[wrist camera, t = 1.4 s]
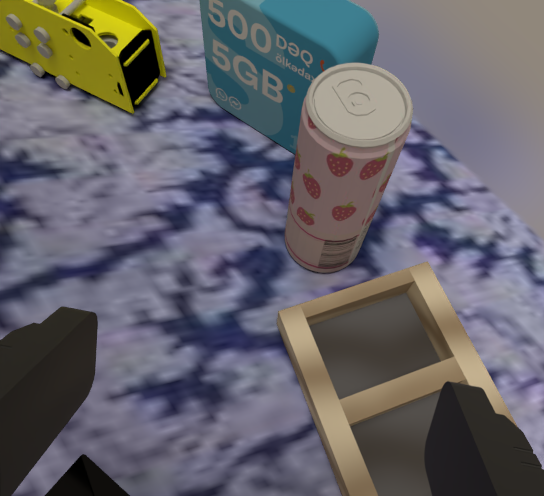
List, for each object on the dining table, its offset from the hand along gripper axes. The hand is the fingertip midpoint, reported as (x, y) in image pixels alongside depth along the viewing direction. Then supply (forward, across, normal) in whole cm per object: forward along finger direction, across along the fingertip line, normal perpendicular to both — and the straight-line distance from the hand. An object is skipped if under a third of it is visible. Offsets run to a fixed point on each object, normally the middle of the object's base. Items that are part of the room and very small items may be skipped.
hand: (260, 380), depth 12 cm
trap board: (+17, -10, +14) cm, 25 cm away
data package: (+35, +3, -3) cm, 35 cm away
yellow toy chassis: (+36, +22, -4) cm, 43 cm away
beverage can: (+27, -2, +5) cm, 28 cm away
